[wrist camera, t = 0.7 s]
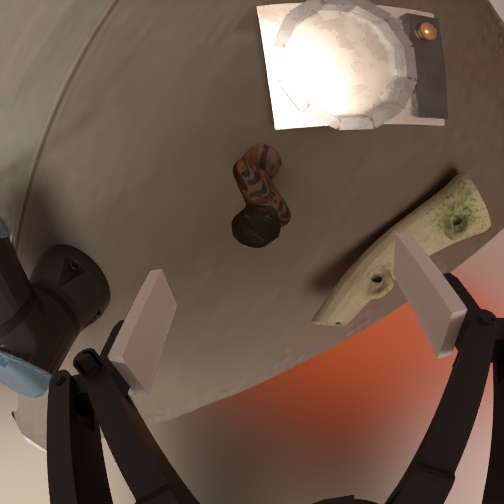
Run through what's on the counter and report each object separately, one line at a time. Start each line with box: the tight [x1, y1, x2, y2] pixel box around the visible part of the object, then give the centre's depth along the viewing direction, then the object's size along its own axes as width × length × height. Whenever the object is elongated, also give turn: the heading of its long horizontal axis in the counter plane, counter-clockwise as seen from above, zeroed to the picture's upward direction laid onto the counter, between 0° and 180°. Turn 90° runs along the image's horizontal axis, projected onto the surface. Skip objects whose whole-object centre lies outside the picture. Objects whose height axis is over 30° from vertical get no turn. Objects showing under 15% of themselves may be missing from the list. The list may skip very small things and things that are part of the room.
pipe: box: [311, 172, 491, 326], centre depth 36 cm, size 28×8×10 cm, turn 135°
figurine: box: [232, 144, 291, 248], centre depth 28 cm, size 7×5×18 cm
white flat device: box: [257, 0, 448, 130], centre depth 26 cm, size 20×14×6 cm
